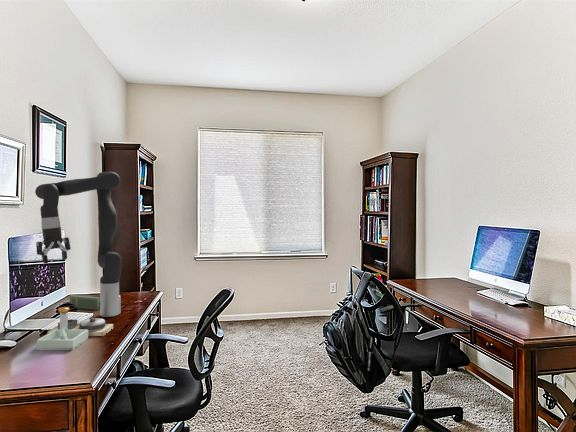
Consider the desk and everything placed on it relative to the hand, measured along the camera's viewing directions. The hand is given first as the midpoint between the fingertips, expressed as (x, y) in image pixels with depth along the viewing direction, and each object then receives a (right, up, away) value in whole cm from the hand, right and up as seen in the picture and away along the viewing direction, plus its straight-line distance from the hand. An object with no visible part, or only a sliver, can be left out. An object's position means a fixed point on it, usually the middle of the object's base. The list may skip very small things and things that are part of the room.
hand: (55, 261), depth 189 cm
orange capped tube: (+15, -31, -20) cm, 40 cm away
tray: (+15, -32, -20) cm, 41 cm away
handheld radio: (-3, -31, +38) cm, 49 cm away
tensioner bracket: (+14, -32, -4) cm, 35 cm away
